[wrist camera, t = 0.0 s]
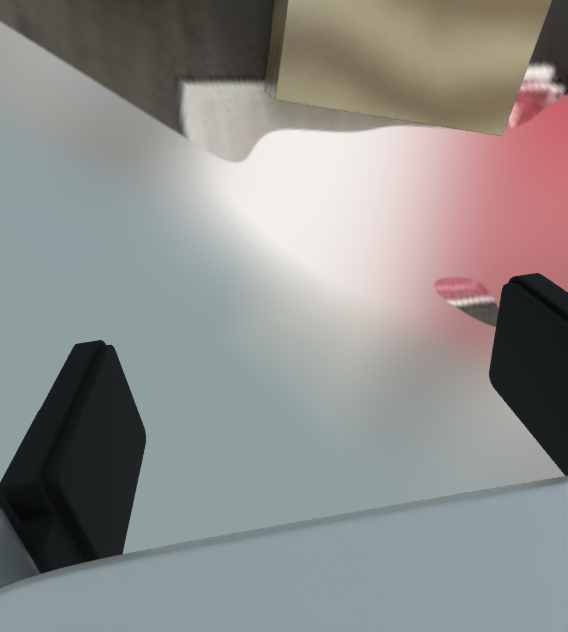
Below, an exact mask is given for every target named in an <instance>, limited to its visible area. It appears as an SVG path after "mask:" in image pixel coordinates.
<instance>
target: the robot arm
mask: <svg viewBox="0 0 568 632" xmlns="http://www.w3.org/2000/svg"><path fill="white" fill-rule="evenodd" d="M489 377H490V382H491V384H492V386H493V387H494V389H495V390H496V391H497V392H498V393H499V395H500V396H501V397H502V398H503V400H504V401H505V402H506V403H507V405H508V406H509V407H510V408H511V410H513V412H514V413H515V414H516V416H517V417H518V418H519V419H520V421H521V422H522V423H523V424H524V425H525V427H526V428H527V429H528V430H529V432H530V433H531V434H532V435H533V437H534V438H535V439H536V440H537V441H538V443H539V444H540V445H541V446H542V448H543V449H544V450H545V451H546V453H547V454H548V455H549V456H550V457H551V459H552V460H553V461H554V462H555V464H556V465H557V466H558V467H559V468H560V469H561V471H562V472H563V473H564V475H565V476H564V477H558V478H552V479H546V480H540V481H534V482H528V483H522V484H516V485H510V486H504V487H498V488H492V489H486V490H480V491H474V492H468V493H462V494H456V495H450V496H445V497H439V498H434V499H427V500H421V501H415V502H410V503H404V504H399V505H393V506H386V507H381V508H375V509H370V510H364V511H358V512H352V513H346V514H341V515H335V516H329V517H324V518H318V519H312V520H307V521H301V522H295V523H289V524H284V525H278V526H273V527H267V528H261V529H256V530H251V531H245V532H239V533H233V534H228V535H222V536H217V537H211V538H206V539H200V540H194V541H189V542H183V543H178V544H173V545H168V546H163V547H158V548H153V549H148V550H143V551H138V552H132V553H128V554H123V549H124V544H125V539H126V534H127V529H128V525H129V520H130V516H131V511H132V506H133V501H134V496H135V492H136V487H137V483H138V477H139V473H140V468H141V464H142V459H143V454H144V449H145V443H146V434H145V429H144V426H143V423H142V420H141V418H140V415H139V412H138V410H137V407H136V404H135V402H134V399H133V396H132V394H131V391H130V388H129V386H128V383H127V380H126V378H125V375H124V372H123V370H122V367H121V364H120V361H119V359H118V356H117V353H116V351H115V348H114V347H113V346H112V345H106V344H105V343H104V341H102V340H98V341H92V342H86V343H79V344H75V346H74V347H73V349H72V351H71V353H70V354H69V356H68V358H67V360H66V362H65V364H64V366H63V367H62V369H61V371H60V373H59V375H58V377H57V379H56V381H55V382H54V384H53V386H52V388H51V390H50V392H49V394H48V396H47V398H46V399H45V401H44V403H43V405H42V407H41V409H40V410H39V411H38V413H37V415H36V417H35V419H34V421H33V422H32V424H31V426H30V428H29V430H28V432H27V434H26V435H25V437H24V439H23V441H22V443H21V445H20V446H19V448H18V450H17V452H16V454H15V456H14V458H13V460H12V461H11V463H10V465H9V467H8V469H7V471H6V473H5V474H4V477H3V478H2V480H1V482H0V632H568V292H566V291H565V290H563V289H562V288H560V287H559V286H557V285H556V284H554V283H553V282H552V281H550V280H549V279H547V278H546V277H544V276H543V275H541V274H539V273H535V274H528V275H521V276H515V277H512V278H511V279H510V280H509V282H508V284H505V285H504V286H503V288H502V293H501V300H500V305H499V312H498V318H497V325H496V331H495V338H494V345H493V350H492V357H491V363H490V370H489Z"/></svg>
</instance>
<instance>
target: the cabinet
mask: <svg viewBox="0 0 568 632" xmlns="http://www.w3.org/2000/svg"><path fill="white" fill-rule="evenodd" d="M551 1H552V0H275V1H274V10H273V19H272V28H271V36H270V45H269V54H268V63H267V71H266V80H265V89H264V91H265V92H267V93H268V94H269V95H270V96H272V97H273V98H274V99H275V100H277V101H283V102H290V103H296V104H302V105H309V106H315V107H321V108H328V109H334V110H340V111H346V112H353V113H359V114H365V115H372V116H378V117H384V118H391V119H397V120H403V121H409V122H416V123H422V124H428V125H435V126H441V127H447V128H454V129H460V130H466V131H473V132H479V133H485V134H492V135H498V136H503V133H504V130H505V128H506V125H507V122H508V119H509V117H510V114H511V111H512V108H513V106H514V103H515V100H516V97H517V95H518V92H519V89H520V86H521V84H522V81H523V78H524V75H525V73H526V70H527V67H528V64H529V61H530V59H531V56H532V53H533V50H534V48H535V45H536V42H537V39H538V37H539V34H540V31H541V28H542V26H543V23H544V20H545V17H546V15H547V12H548V9H549V6H550V4H551Z"/></svg>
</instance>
